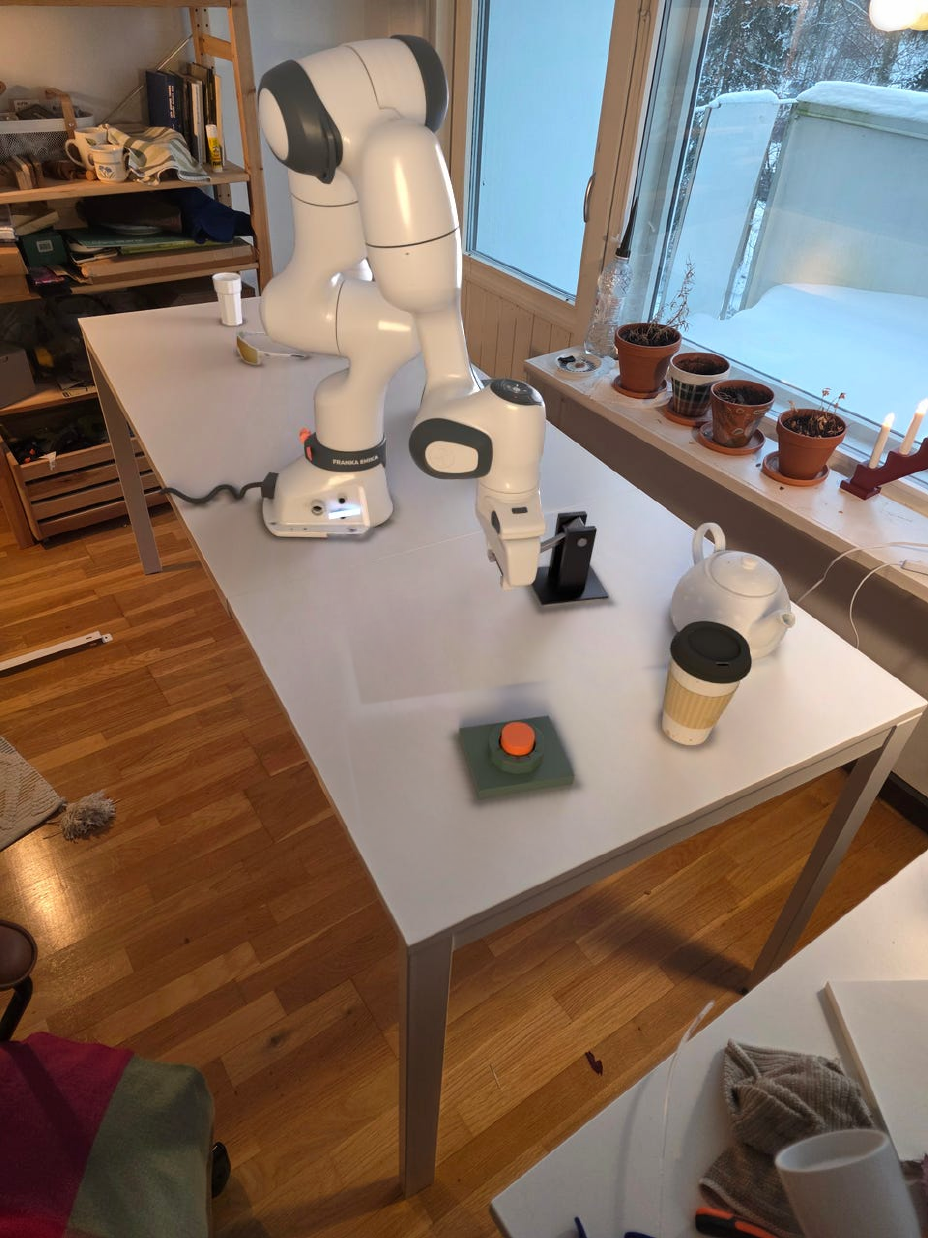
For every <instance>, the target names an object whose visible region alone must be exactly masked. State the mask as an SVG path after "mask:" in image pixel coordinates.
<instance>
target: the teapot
mask: <svg viewBox="0 0 928 1238" xmlns="http://www.w3.org/2000/svg"><path fill="white" fill-rule="evenodd" d="M708 530H709V531H710V533H712V536H713V539H714V548H713V549H714V550H713V552H712V554H710V555H709V556H708V557H706V558H704V547H703V542H704V537H705V535H706V533H707V531H708ZM691 546H692V547H691V549H692V550H691V551H692V559H693V565H692V566H691V567H689V568H688V569H687V570H686V571H685V572H684V574H682V576H681V577H680V578H679V580H678V581H677V584H676V585H675V588H674V590H673V591H672V596H671V600H670V607H669V608H670V609H669V611H670V612H669V613H670V619H671V621H672V624H673V626H674V628H675V630H676V631H677V633H678V632H679V631H681V630H682V629H683V628H684V627H685V626H686V625H688V624H690V623H693V622H697V621H712V622H717V623H721V624H724V625H726V626H728V627H731V628H732V629H734V630H736V631H737V632H738V633H740V634H741V635H742V636H743V637H744V638H745V639H746V641H747V643H748V644H749V647H750V654H751V657H752V661H755V660H758V659H761V658H763V657H765V656H767V655H769V654H771V653H772V652H773V651H774V650H775V649H776V648H777V647H778V646H779V645H780V643H781V642H782V641H783V639H784V638H785V636H786V633H787V632H788V629H790V628H792V627H794V625H795V624H796V616H795V614H794V613H792V605H791V600H790V596H789V592H788V590H787V588H786V586H785V584H784V582H783V578H782V576H781V574H780V573H779V571H778V570H777V569H776V568H775V567H774V566H773V565H772V564H770V563H769V562H768V561H766V560H765V559H764V558H762V557H760V556H758V555H756V554H752V553H748V552H745V551H739V550H726V536H725V533H724V531H723V529H722V528H721V526H720V525H719V524H718V523H715V522H706V523H702V524H701V525H699V526H698V528H697V529H696V530H695V532H694V534H693V538H692V545H691Z"/></svg>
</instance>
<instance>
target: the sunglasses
mask: <svg viewBox="0 0 928 1238" xmlns="http://www.w3.org/2000/svg"><path fill="white" fill-rule="evenodd" d="M235 334H236V350H237V353H238V355H239V356H240V358H241V359H242V361H244V362H245V363H247V364H250V365H254V366H258V365H261V357H266V358H269V357H280V358H281V357H282V358H302V359H306V358H307V357H308V355H306V354H299V353H276V352H270V351H263V350H260V349H258V348H256V347H255V346H252V345H251V344H250V343H249V342H248V341H246V339H245V336H253V335H254V336H255V335H262V336H265V337H269V336H268V335H267V333H266V332H265V331H255V330H241V329H240V330H237V331H236V333H235Z"/></svg>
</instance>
